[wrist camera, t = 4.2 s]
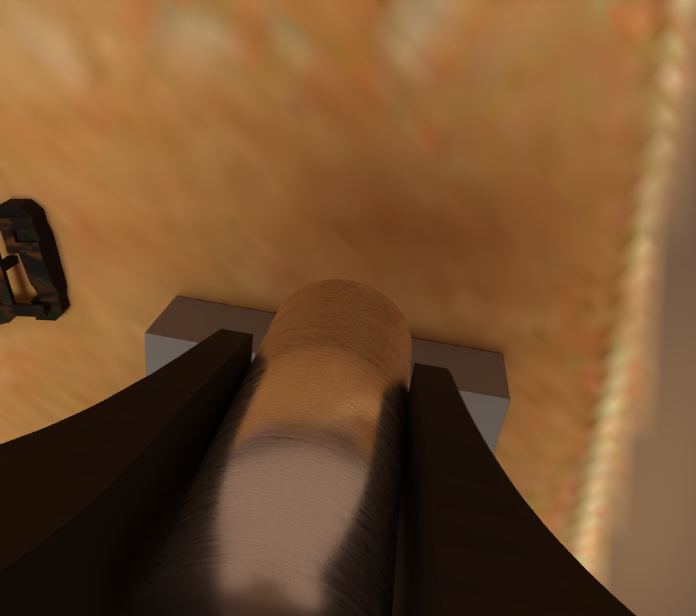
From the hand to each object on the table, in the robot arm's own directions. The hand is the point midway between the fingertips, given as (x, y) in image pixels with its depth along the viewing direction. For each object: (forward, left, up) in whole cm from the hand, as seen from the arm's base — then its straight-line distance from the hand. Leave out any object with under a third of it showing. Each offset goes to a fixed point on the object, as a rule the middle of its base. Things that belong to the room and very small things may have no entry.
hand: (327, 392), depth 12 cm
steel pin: (0, 0, -2) cm, 2 cm away
